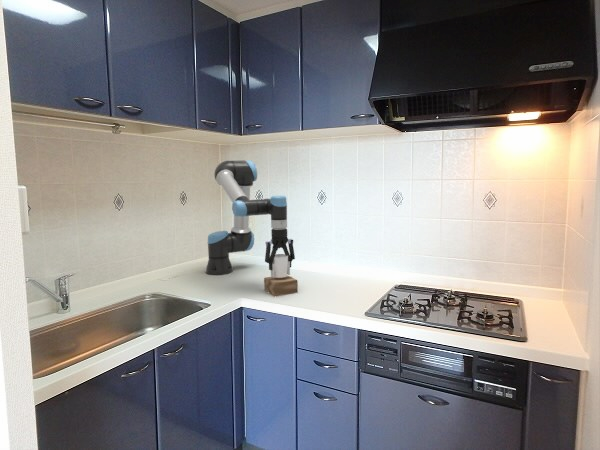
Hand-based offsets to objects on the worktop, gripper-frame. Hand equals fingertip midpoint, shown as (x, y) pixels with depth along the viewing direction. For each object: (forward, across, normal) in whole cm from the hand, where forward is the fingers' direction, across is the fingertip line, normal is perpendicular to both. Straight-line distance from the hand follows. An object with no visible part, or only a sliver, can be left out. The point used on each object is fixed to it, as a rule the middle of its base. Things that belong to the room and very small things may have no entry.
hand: (280, 275), depth 186 cm
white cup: (+1, 0, 0) cm, 1 cm away
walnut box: (+8, 0, 0) cm, 8 cm away
